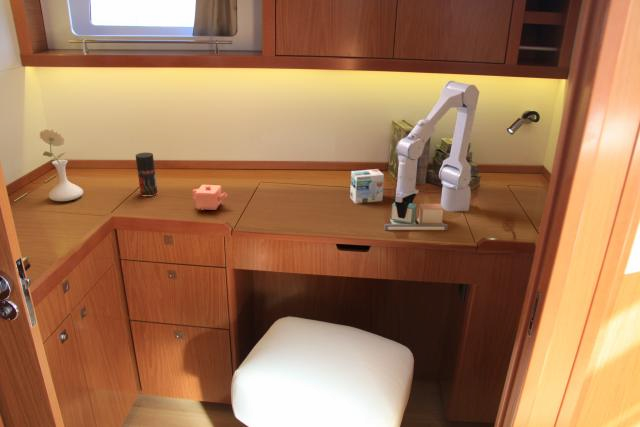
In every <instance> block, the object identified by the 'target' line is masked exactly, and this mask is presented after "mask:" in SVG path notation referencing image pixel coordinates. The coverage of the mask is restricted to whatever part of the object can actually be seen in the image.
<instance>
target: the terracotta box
mask: <svg viewBox="0 0 640 427" xmlns="http://www.w3.org/2000/svg"><path fill="white" fill-rule="evenodd" d="M418 211H419V212H418V218H417V219H419V221H420V223H421V224H442V222H444V221H443V220H444V214H445V213H444V211H445V210H444V208H443V206H442V205H441V203H420V204H419V210H418Z"/></svg>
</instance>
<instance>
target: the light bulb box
mask: <svg viewBox="0 0 640 427" xmlns="http://www.w3.org/2000/svg"><path fill="white" fill-rule="evenodd" d="M384 181H385V174H384V173H383V172H381V171H380V170H379V169H378V168H375V169H363V170H351V172H350V189H349V190H350V194H349V198H350V199H351V201H353V203H354V204H355V205H357V204H365V203H372V202H373V203H375V202H383V196H384V194H383V193H384V183H385V182H384Z"/></svg>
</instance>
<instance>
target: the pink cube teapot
mask: <svg viewBox="0 0 640 427" xmlns="http://www.w3.org/2000/svg"><path fill="white" fill-rule="evenodd" d="M191 192H192V199H193V200H195V203H196V204H195V205H196V206H195V207H196V210H200V209H205V210H207V211H208V210H209V211H211V210H216V211H217V209H218V208H219V206H220V205H221V203H223V202H222V201H223V199H225V198H226V197H228V193H227V192H225V191H224V192H223V193H222V186H221V185H217V184H216V185H215V184H214V185H213V184H201V186H200V187H199V188H196V189H192V191H191ZM205 210H204V211H205Z"/></svg>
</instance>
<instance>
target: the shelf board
mask: <svg viewBox="0 0 640 427" xmlns="http://www.w3.org/2000/svg"><path fill="white" fill-rule="evenodd" d="M389 220H390V222H391V223H385V224H384V226H383V228H384V229H383V230H384V231H448V227H449V225H448V224H447V223H444V221H442V224H421V223H420V221H419V219H418V218H416V219H415V220H417V222H418V223H416V221H415V220H414V222H413V223H412V224H409V223H404V222H399V221H394V220H391V218H389Z"/></svg>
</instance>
